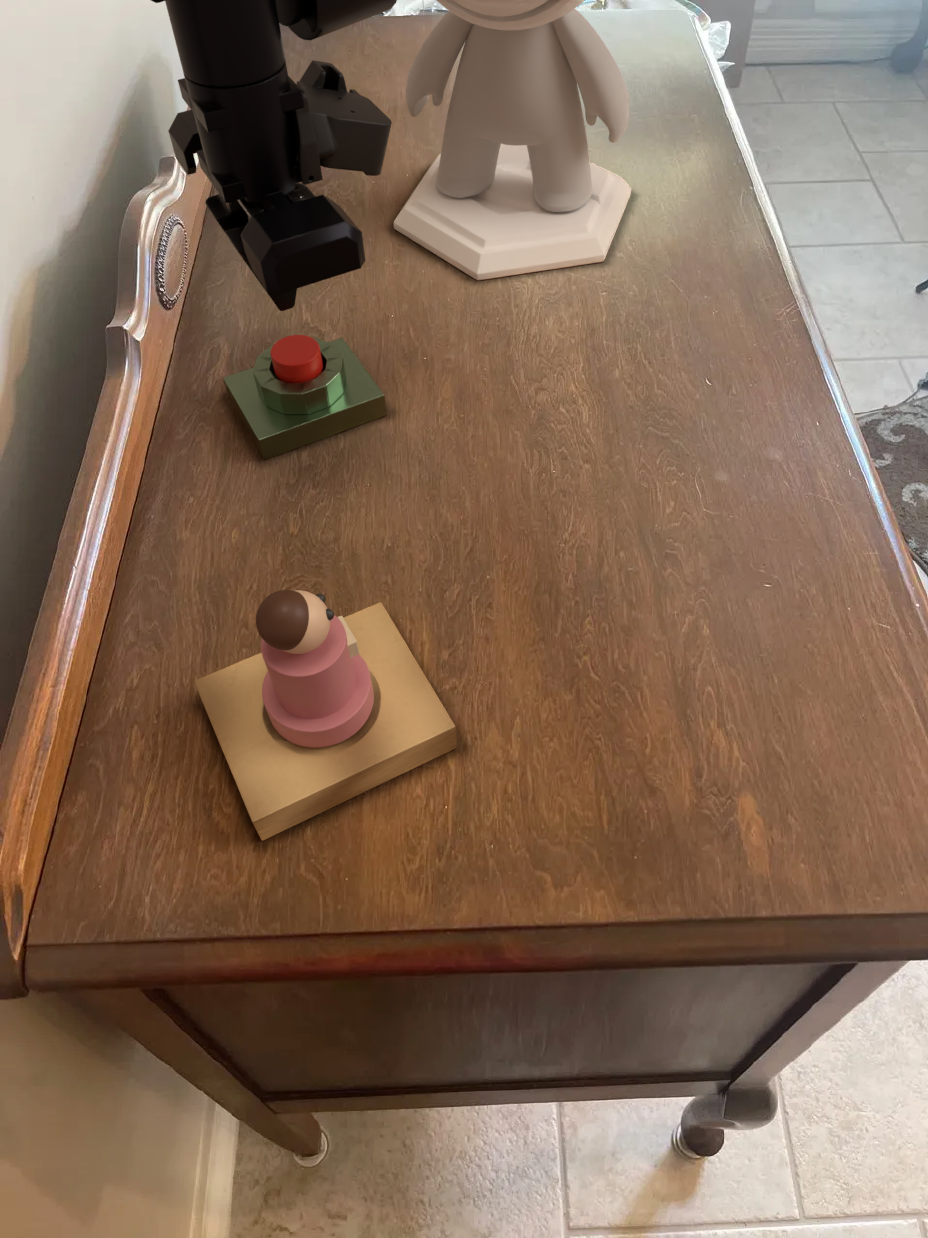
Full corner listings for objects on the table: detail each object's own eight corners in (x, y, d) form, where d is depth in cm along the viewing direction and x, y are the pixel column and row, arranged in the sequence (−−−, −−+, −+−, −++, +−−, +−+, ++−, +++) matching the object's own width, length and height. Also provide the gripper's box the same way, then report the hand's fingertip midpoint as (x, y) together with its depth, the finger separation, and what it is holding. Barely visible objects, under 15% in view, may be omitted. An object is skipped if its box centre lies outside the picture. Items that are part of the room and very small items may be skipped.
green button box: (264, 460, 68) (252, 418, 65) (228, 397, 72) (216, 355, 69) (387, 415, 70) (381, 373, 67) (345, 357, 75) (338, 315, 71)
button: (285, 390, 67) (280, 371, 65) (267, 363, 69) (263, 343, 67) (330, 374, 68) (327, 355, 66) (312, 348, 70) (308, 328, 68)
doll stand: (262, 841, 50) (252, 822, 48) (204, 703, 55) (193, 680, 53) (457, 748, 53) (455, 726, 51) (384, 625, 58) (380, 601, 56)
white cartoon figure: (371, 263, 82) (306, -273, 54) (452, 140, 95) (433, -346, 67) (588, 299, 78) (640, -261, 50) (642, 165, 91) (708, -341, 63)
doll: (292, 766, 50) (254, 668, 42) (252, 684, 53) (211, 579, 45) (391, 718, 51) (373, 616, 44) (347, 642, 54) (323, 534, 47)
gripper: (437, 96, 48) (449, 343, 61) (305, -21, 58) (339, 212, 71) (238, 151, 46) (293, 398, 58) (135, 18, 56) (201, 253, 68)
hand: (285, 306), depth 64 cm, fingers closed
